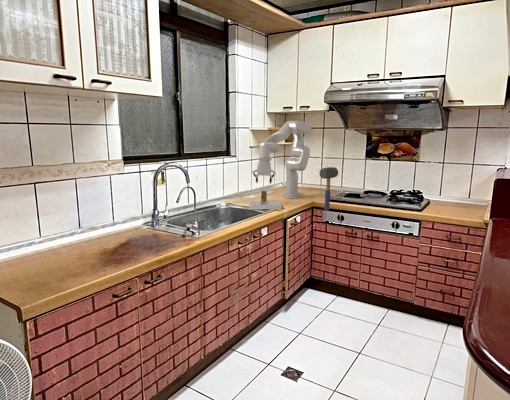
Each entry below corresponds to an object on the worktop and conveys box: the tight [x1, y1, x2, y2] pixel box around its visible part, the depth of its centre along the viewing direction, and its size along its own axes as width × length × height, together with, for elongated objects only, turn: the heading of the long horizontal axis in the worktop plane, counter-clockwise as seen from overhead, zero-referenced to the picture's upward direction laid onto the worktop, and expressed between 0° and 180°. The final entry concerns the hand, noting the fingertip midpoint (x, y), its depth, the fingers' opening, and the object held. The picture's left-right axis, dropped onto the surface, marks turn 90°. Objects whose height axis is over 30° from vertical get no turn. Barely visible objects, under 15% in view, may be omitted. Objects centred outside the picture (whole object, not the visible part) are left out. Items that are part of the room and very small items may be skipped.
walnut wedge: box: [260, 190, 268, 201], centre depth 268 cm, size 4×4×9 cm
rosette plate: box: [248, 200, 282, 211], centre depth 255 cm, size 22×14×3 cm, turn 92°
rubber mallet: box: [318, 166, 339, 212], centre depth 244 cm, size 12×8×30 cm, turn 129°
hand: (263, 183), depth 266 cm, fingers open, 9 cm apart
